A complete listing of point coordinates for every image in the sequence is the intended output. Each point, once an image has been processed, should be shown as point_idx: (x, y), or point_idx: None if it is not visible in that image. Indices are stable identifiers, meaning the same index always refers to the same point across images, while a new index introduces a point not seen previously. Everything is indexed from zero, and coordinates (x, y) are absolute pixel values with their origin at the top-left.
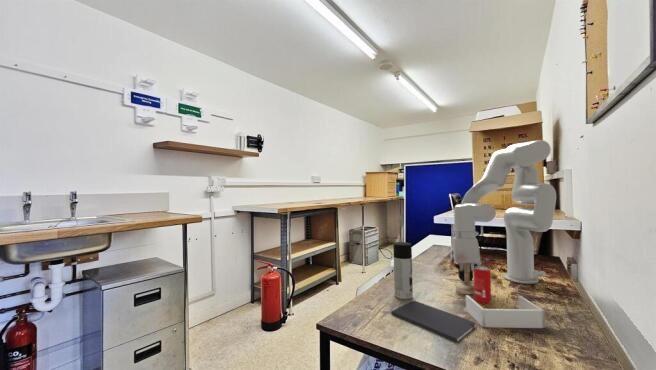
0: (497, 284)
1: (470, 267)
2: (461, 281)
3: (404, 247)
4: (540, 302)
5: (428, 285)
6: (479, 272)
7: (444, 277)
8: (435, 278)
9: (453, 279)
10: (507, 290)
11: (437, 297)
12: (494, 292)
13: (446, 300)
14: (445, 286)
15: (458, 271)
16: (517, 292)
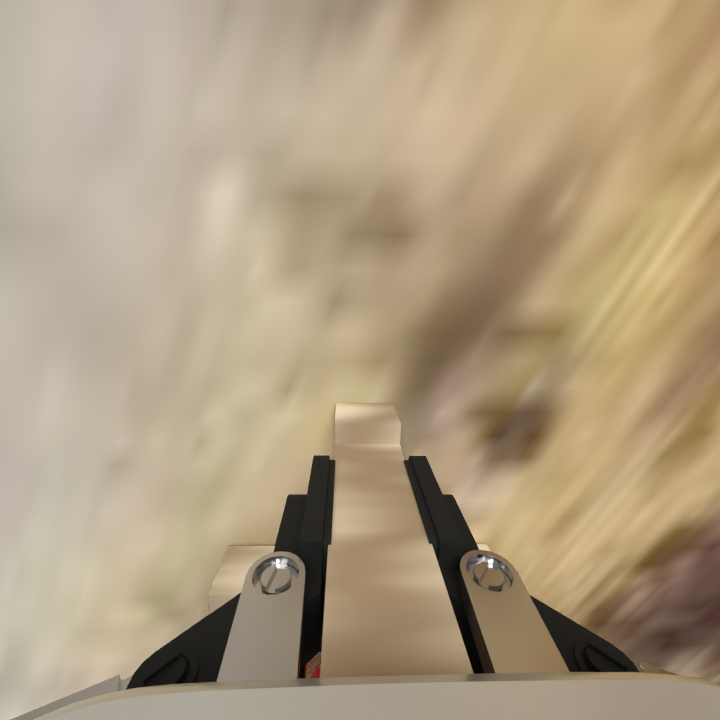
0: (705, 367)
1: (476, 653)
2: (334, 446)
3: None
4: (706, 670)
5: (5, 399)
6: None
7: (255, 121)
8: (125, 161)
9: (340, 206)
10: (672, 500)
11: (51, 638)
12: (540, 540)
13: (109, 677)
14: (178, 423)
15: (275, 548)
16: (712, 534)
